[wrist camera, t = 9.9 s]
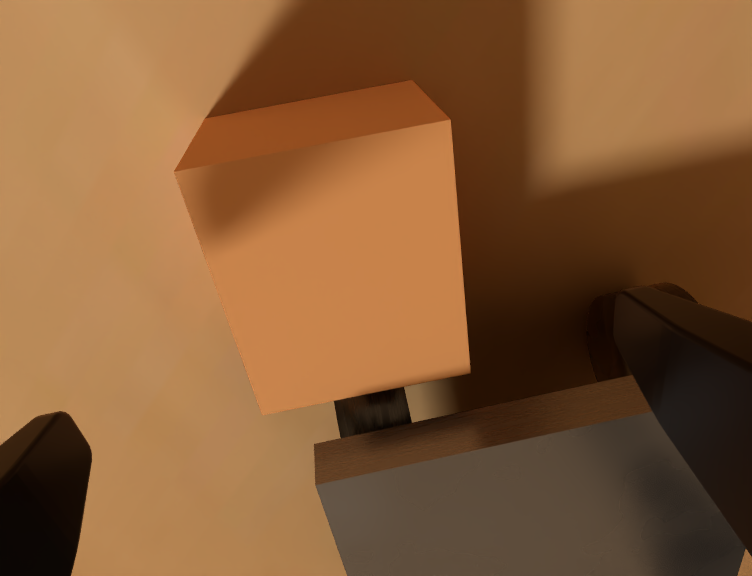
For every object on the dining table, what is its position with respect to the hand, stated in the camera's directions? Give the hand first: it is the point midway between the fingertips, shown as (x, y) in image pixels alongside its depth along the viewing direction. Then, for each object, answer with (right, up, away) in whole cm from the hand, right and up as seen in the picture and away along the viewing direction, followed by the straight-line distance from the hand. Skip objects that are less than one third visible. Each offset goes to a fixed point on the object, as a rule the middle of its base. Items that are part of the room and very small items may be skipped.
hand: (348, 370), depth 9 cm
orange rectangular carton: (-1, +3, +6) cm, 7 cm away
